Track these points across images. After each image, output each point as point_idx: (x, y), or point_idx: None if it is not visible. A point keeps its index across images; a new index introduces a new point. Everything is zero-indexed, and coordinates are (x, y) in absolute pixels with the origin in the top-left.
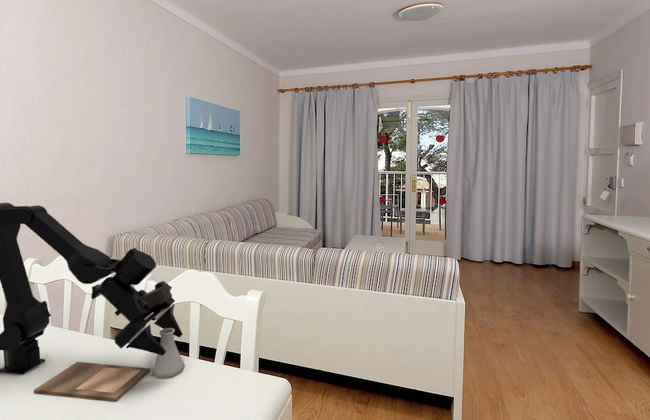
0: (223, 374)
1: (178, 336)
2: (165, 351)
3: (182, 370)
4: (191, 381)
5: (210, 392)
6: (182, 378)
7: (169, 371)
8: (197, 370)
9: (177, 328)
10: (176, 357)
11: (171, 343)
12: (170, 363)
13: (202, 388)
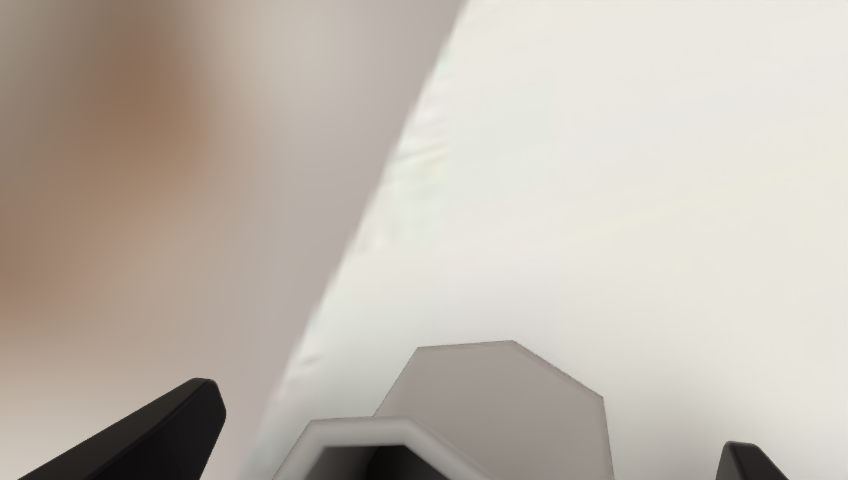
0: (539, 50)
1: (219, 426)
2: (742, 446)
3: (497, 341)
4: (642, 230)
5: (781, 58)
6: (601, 311)
7: (593, 423)
8: (483, 235)
9: (137, 445)
10: (494, 380)
11: (470, 438)
12: (570, 420)
13: (733, 124)
